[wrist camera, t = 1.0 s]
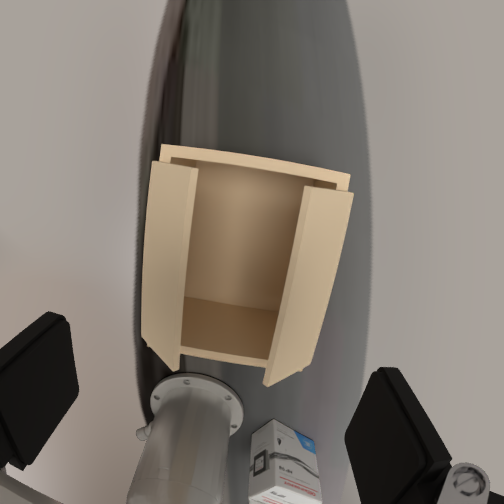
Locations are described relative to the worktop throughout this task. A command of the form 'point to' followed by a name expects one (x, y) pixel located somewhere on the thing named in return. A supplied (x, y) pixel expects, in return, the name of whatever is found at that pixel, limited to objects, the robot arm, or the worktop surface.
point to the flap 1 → (166, 257)
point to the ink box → (283, 467)
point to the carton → (240, 249)
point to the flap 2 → (308, 280)
